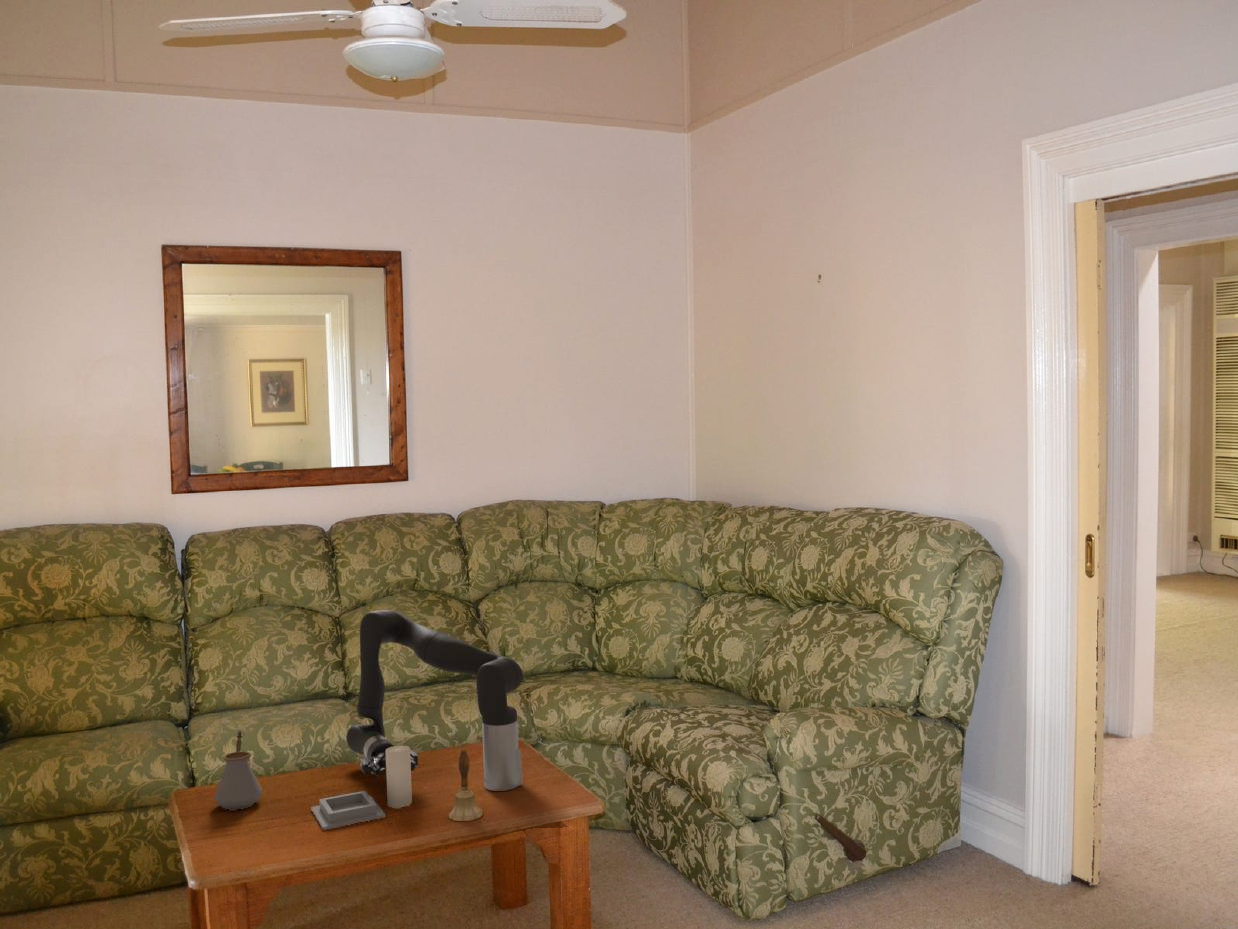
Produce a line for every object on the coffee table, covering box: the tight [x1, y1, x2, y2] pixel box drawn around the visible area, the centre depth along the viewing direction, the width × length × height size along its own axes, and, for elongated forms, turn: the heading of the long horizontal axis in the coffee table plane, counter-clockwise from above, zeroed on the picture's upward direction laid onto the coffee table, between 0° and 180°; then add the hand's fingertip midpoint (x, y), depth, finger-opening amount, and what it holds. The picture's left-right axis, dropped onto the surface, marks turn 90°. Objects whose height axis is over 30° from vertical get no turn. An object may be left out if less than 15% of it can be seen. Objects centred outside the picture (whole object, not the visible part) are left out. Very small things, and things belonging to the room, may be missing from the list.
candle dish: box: [310, 790, 387, 831], centre depth 260 cm, size 15×15×3 cm
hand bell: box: [448, 749, 484, 822], centre depth 256 cm, size 8×8×16 cm
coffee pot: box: [214, 730, 263, 811], centre depth 273 cm, size 21×12×15 cm, turn 16°
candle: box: [385, 745, 413, 809], centre depth 265 cm, size 6×6×14 cm
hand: (396, 770), depth 267 cm, fingers open, 8 cm apart
